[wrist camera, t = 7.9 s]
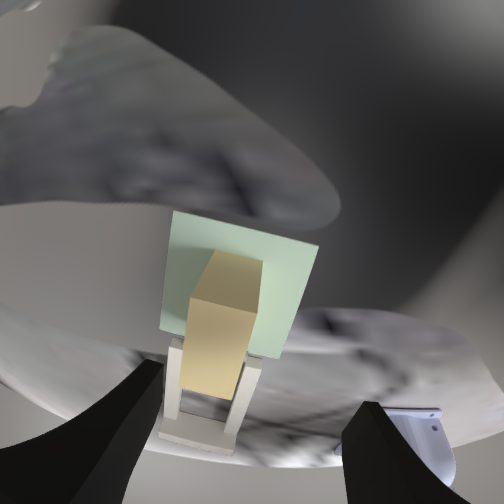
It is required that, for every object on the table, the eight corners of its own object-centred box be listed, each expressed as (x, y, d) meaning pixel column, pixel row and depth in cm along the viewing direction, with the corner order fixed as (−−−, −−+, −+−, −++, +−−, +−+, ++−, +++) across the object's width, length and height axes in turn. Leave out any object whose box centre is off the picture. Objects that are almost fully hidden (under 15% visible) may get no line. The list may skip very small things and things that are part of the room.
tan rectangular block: (263, 261, 19) (257, 313, 13) (242, 337, 21) (231, 400, 15) (215, 249, 19) (190, 297, 13) (200, 327, 21) (178, 387, 15)
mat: (318, 245, 18) (319, 246, 18) (278, 357, 21) (278, 359, 21) (174, 209, 18) (173, 210, 18) (160, 327, 21) (159, 329, 21)
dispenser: (264, 353, 21) (262, 381, 19) (235, 431, 25) (232, 456, 23) (174, 330, 21) (161, 356, 19) (166, 414, 25) (158, 437, 22)
